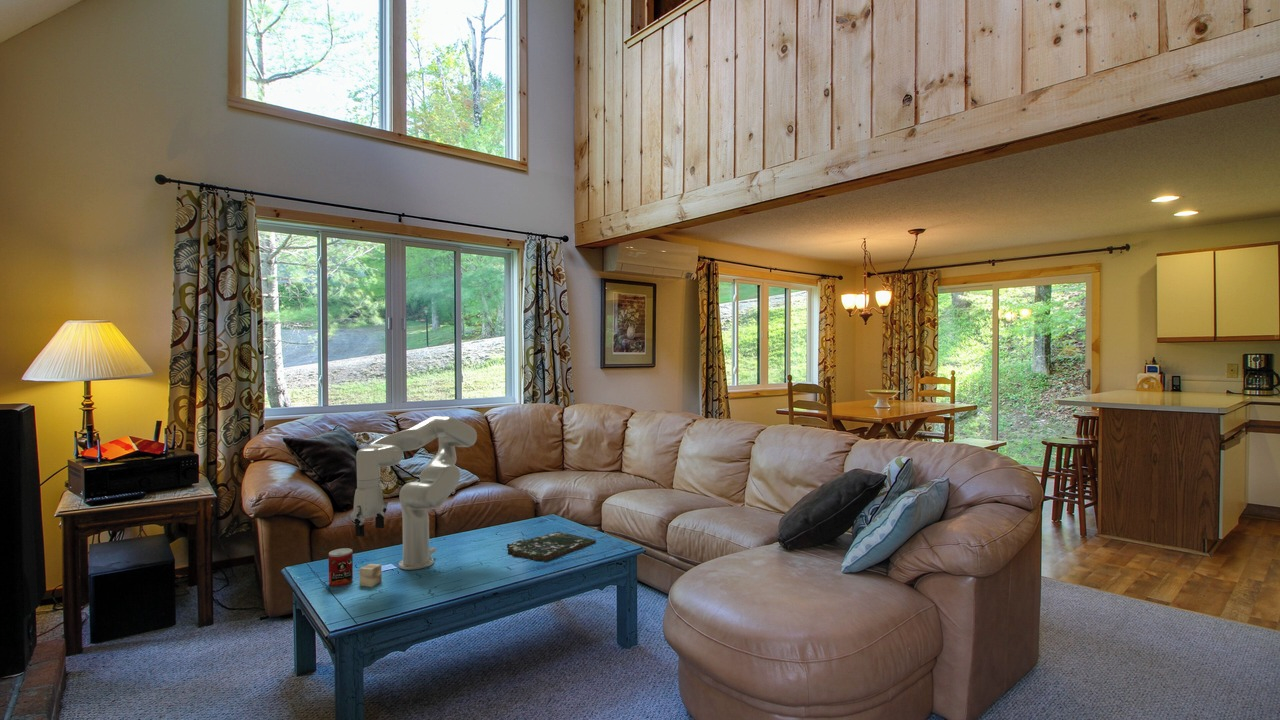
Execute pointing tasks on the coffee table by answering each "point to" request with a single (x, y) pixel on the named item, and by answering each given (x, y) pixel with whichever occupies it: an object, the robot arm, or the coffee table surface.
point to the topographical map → (548, 546)
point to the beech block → (370, 575)
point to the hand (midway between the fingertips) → (370, 531)
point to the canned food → (340, 567)
